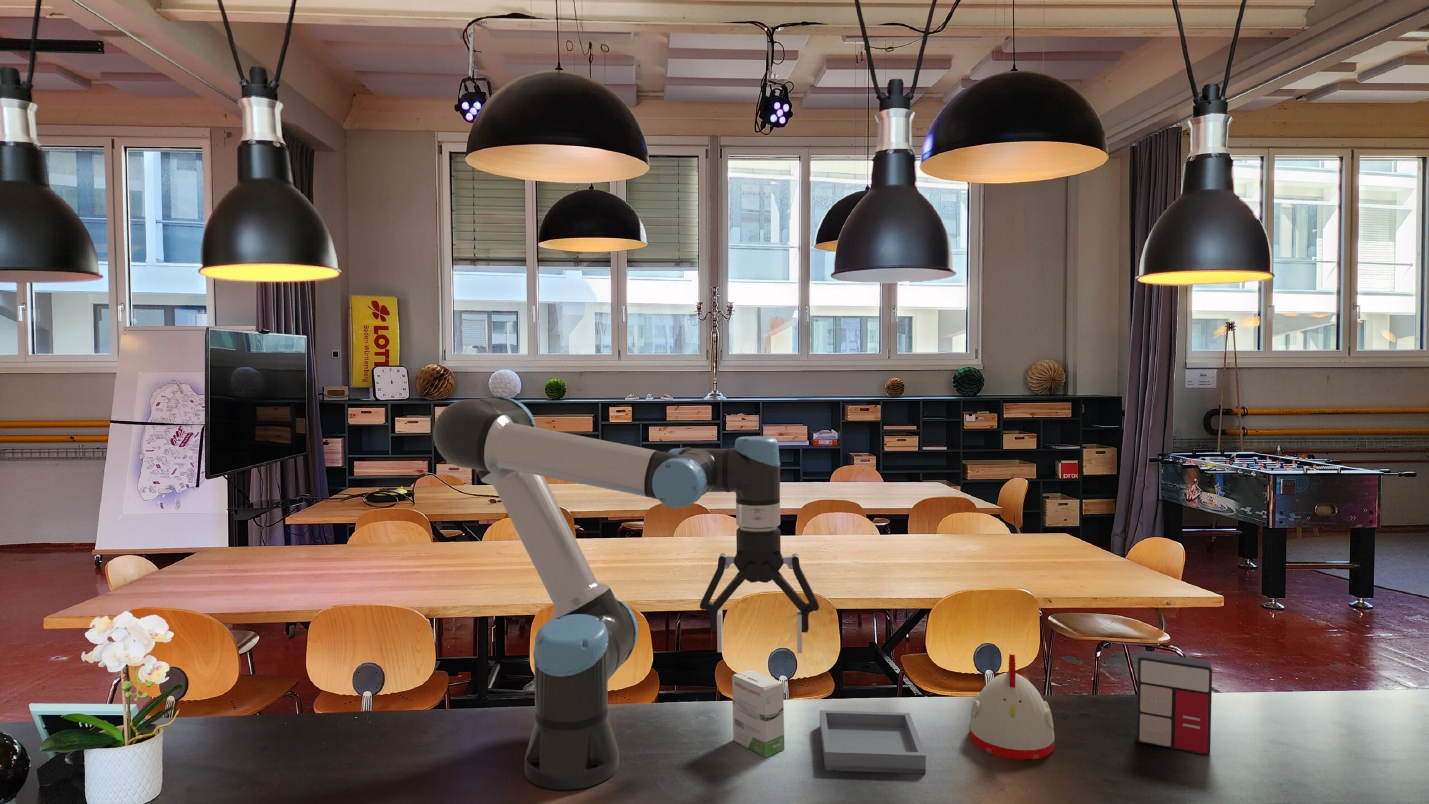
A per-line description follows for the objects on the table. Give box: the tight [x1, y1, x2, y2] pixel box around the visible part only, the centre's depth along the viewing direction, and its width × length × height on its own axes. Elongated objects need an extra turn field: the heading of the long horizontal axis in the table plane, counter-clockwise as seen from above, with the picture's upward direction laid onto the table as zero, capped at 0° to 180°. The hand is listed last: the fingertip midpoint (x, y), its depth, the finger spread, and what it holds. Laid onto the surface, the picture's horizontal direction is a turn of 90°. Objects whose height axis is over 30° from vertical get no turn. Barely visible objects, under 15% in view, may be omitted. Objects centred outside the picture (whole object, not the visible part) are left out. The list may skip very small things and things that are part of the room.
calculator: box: [1135, 651, 1213, 756], centre depth 138 cm, size 11×4×15 cm, turn 62°
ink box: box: [731, 669, 785, 758], centre depth 139 cm, size 9×5×12 cm, turn 39°
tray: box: [819, 709, 927, 775], centre depth 138 cm, size 16×16×3 cm
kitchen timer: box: [968, 653, 1055, 760], centre depth 141 cm, size 14×14×15 cm
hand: (759, 650), depth 139 cm, fingers open, 13 cm apart
